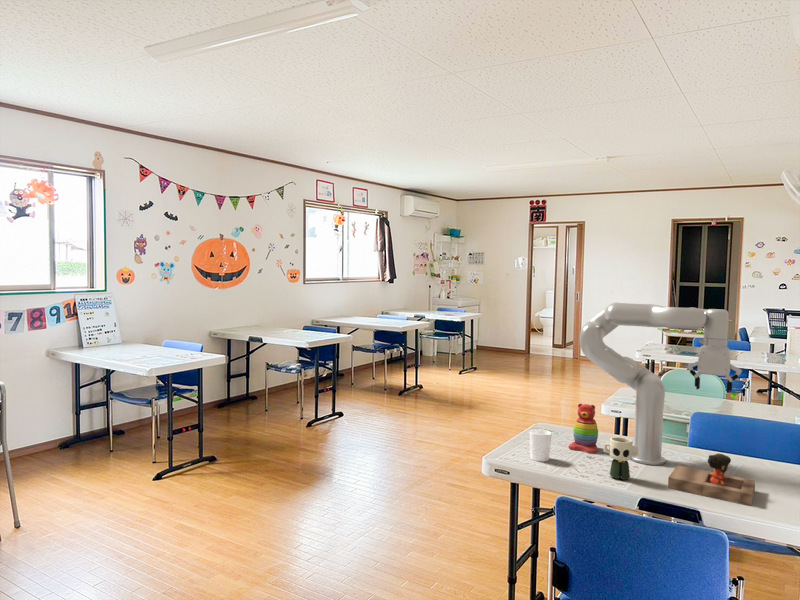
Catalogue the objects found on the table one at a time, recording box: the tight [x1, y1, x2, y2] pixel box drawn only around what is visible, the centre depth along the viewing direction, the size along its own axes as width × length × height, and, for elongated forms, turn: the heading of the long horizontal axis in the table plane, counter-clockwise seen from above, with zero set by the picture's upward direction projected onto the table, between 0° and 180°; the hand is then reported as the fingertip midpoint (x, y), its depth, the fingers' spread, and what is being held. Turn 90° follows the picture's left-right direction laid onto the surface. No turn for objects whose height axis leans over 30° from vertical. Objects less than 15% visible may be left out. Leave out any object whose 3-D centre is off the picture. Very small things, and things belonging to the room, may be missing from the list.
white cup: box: [529, 429, 552, 462], centre depth 210 cm, size 8×8×10 cm
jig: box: [667, 465, 756, 507], centre depth 183 cm, size 23×16×4 cm
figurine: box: [707, 452, 732, 486], centre depth 182 cm, size 6×6×12 cm
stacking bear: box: [568, 403, 599, 455], centre depth 225 cm, size 11×10×18 cm
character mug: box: [603, 436, 638, 480], centre depth 192 cm, size 11×7×13 cm, turn 72°
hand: (712, 390), depth 205 cm, fingers open, 9 cm apart
